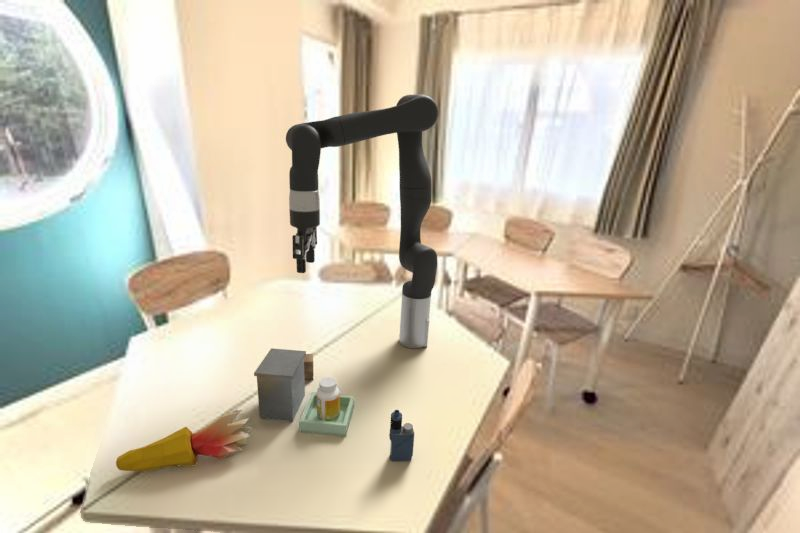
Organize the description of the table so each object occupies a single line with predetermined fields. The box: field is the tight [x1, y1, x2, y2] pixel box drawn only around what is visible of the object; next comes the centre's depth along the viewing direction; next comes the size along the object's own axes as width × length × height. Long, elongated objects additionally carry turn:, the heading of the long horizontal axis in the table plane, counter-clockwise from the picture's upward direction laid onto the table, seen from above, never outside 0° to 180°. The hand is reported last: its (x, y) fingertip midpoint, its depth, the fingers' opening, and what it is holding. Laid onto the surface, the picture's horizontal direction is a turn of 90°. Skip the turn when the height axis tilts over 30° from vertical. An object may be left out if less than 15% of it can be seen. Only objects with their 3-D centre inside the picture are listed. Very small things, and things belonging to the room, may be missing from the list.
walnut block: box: [304, 353, 314, 382], centre depth 113 cm, size 4×4×6 cm
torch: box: [115, 409, 254, 472], centre depth 84 cm, size 8×8×25 cm
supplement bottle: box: [316, 376, 341, 422], centre depth 97 cm, size 5×5×10 cm
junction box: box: [253, 348, 307, 422], centre depth 100 cm, size 9×11×13 cm
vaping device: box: [388, 409, 415, 462], centre depth 86 cm, size 3×5×12 cm, turn 95°
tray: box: [299, 392, 355, 437], centre depth 98 cm, size 11×11×3 cm
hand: (306, 267), depth 110 cm, fingers open, 8 cm apart
